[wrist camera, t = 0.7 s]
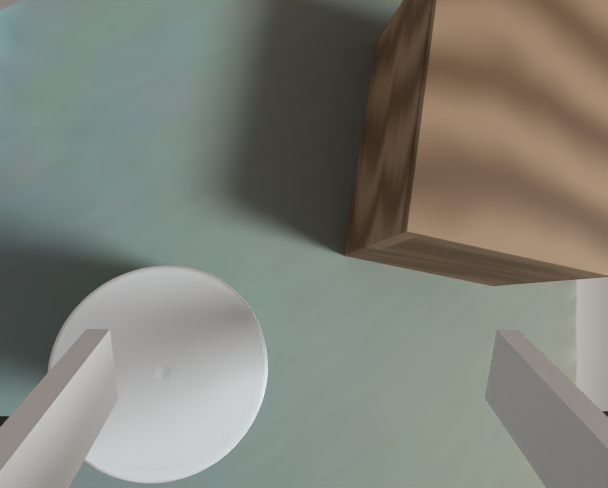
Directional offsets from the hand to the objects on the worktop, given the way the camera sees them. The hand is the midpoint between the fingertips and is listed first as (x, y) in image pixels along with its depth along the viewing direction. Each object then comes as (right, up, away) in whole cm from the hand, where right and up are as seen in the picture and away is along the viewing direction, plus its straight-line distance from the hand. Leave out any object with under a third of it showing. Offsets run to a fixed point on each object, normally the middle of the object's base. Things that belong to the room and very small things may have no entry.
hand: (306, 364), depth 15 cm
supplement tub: (-9, -3, +18) cm, 21 cm away
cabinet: (+12, +12, +25) cm, 30 cm away
